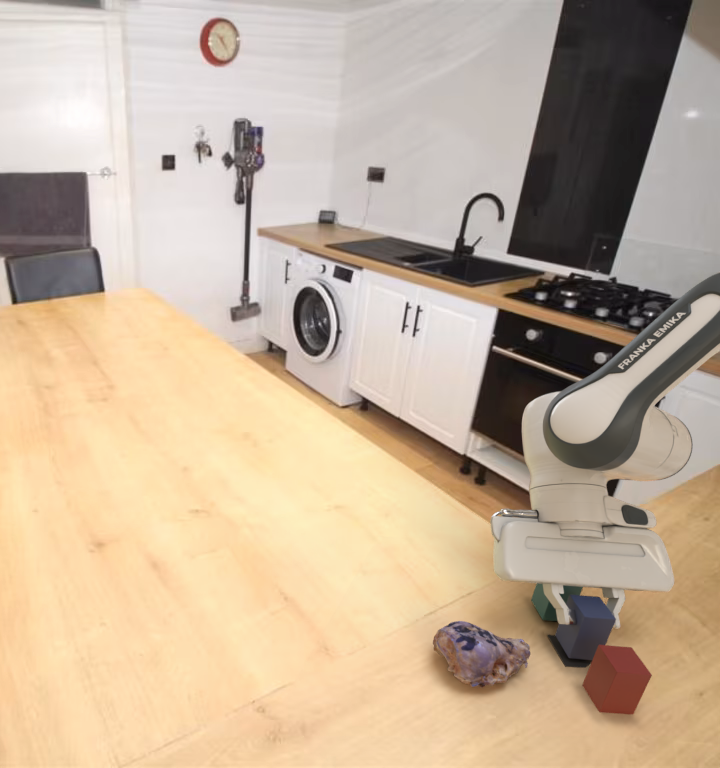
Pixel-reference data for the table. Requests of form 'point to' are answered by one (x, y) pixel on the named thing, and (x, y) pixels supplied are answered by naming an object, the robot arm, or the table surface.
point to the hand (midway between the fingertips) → (589, 626)
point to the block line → (601, 664)
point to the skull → (479, 653)
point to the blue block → (585, 627)
